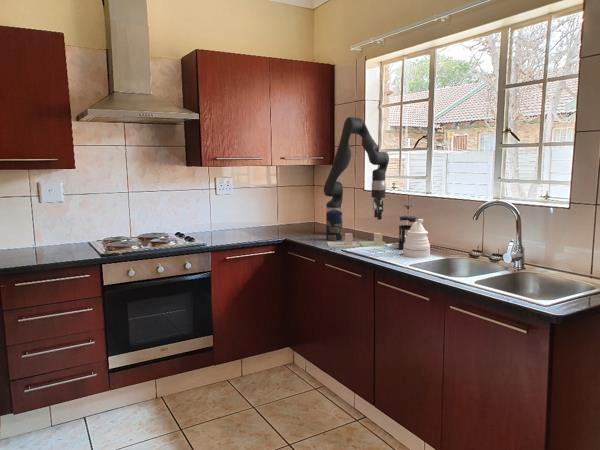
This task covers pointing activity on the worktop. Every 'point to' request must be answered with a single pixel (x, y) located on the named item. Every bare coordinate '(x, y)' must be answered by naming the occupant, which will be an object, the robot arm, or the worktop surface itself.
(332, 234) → the canister
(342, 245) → the bin
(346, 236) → the beige block
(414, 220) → the french press
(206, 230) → the worktop surface
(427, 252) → the honey pot
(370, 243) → the bin
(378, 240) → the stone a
